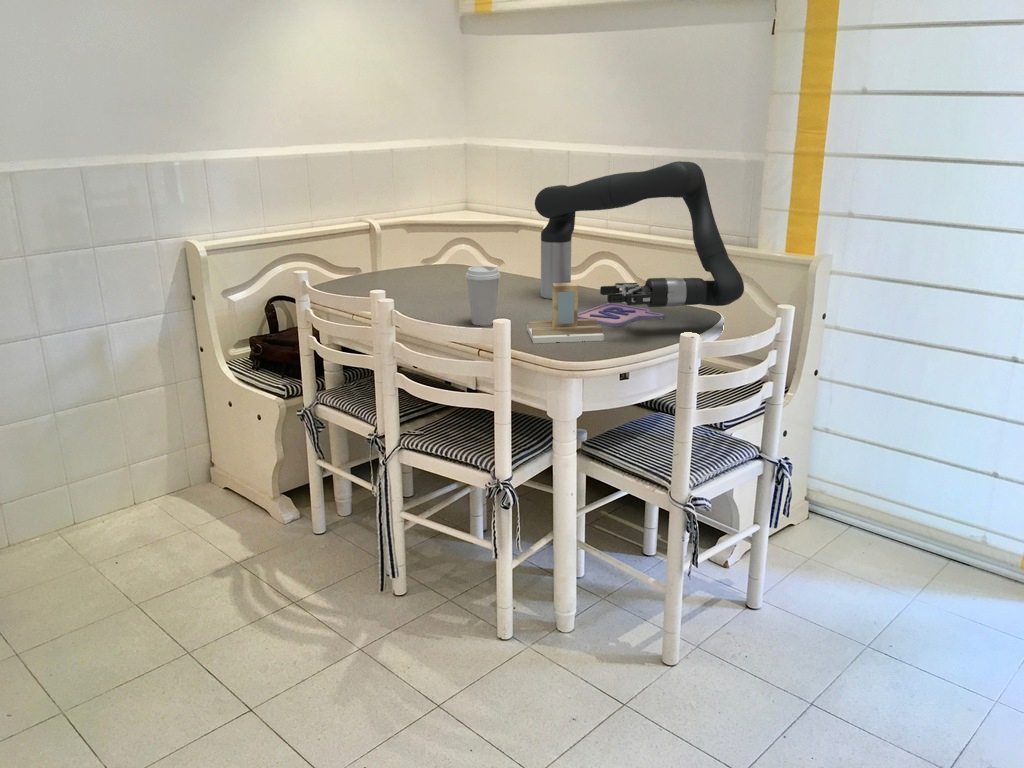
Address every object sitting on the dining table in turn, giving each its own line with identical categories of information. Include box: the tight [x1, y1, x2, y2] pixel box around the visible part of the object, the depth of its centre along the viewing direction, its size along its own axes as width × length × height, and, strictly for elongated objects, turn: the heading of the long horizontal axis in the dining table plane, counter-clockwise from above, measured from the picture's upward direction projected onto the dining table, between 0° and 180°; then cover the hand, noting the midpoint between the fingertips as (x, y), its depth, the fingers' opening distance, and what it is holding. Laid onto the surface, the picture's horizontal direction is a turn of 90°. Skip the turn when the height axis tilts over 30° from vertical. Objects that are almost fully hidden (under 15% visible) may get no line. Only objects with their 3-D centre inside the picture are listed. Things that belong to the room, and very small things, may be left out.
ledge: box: [526, 319, 605, 344], centre depth 214 cm, size 12×18×3 cm, turn 97°
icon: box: [577, 302, 665, 328], centre depth 231 cm, size 19×2×20 cm
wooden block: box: [551, 282, 579, 328], centre depth 212 cm, size 6×4×12 cm, turn 96°
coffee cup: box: [464, 265, 502, 327], centre depth 224 cm, size 10×10×15 cm
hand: (604, 294), depth 212 cm, fingers open, 8 cm apart
